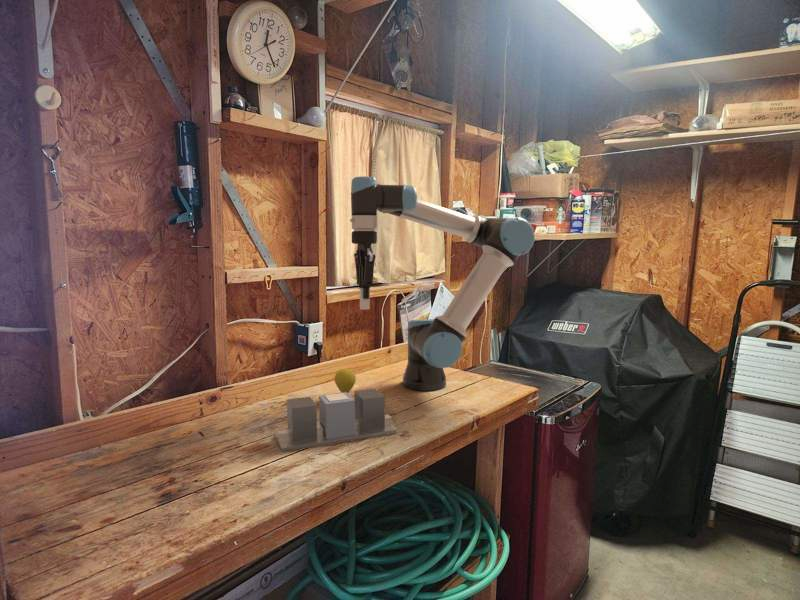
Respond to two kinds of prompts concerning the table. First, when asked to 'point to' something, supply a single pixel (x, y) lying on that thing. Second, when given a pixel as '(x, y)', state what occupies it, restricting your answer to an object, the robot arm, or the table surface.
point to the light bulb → (345, 380)
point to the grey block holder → (310, 434)
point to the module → (337, 414)
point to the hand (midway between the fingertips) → (364, 309)
